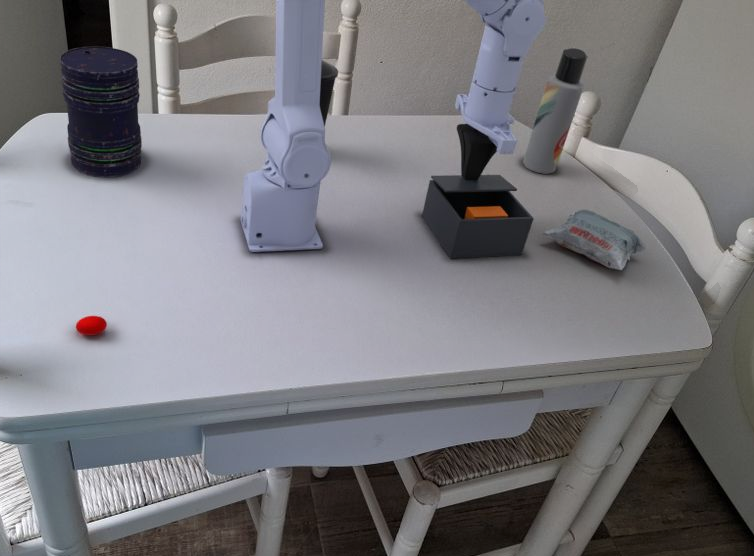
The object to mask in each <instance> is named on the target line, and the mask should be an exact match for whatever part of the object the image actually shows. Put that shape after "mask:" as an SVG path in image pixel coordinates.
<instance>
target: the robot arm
mask: <svg viewBox="0 0 754 556" xmlns="http://www.w3.org/2000/svg"><path fill="white" fill-rule="evenodd" d="M275 1H276V2H275V58H274V59H275V60H274V65H275V67H274V96H273V98H270V100H269V101H268V103H267V113H266V117H265V119H264V121H263V123H262V125H261V128H260V131H259V133H260V135H259V136H260V142H261V144H262V146H263V148H264V149H265V150H266V151H267V157H266V159H265V161H264V164H263V167H262V168H261V169H258V170H255V171H251V172H246V173H244V176H243V183H242V197H241V198H242V200H241V216H240V223H241V227H242V230H243V233H244V237H245V240H246V244H247V247H248V249H249V252H252V253H260V252H261V253H262V252H279V251H280V252H282V251H283V252H284V251H298V250H299V251H303V250H320V249H323V247H324V244H323V242H322V239H321V237H320V235H319V233H318V230H317V228H316V222H317V213H318V206H319V205H318V204H319V198H320V188H321V181H322V180H323V179H325V177H326V176H327V175H328V173H329V171H330V169H331V165H332V157H331V156H332V155H331V152H330V150H329V148H328V146H327V143H326V126H325V127H324V122H323V118H322V114H321V110H320V105H319V103H320V84H321V65H322V60H323V45H324V28H325V27H324V26H325V25H324V24H325V6H326V0H275ZM464 2H465V3H466V4H467V5H469V6H470V7H471V8H472V9H473V10H474V12H476V13H477V14H478V15H479V18H480V20H481V22H482V24H483V23H485V26H484V29H483V33H482V38H481V41H480V47H479V51H478V55H477V58H476V63H475V66H474V72H473V76H472V80H471V83H470V88H469V91H468V94H465V93H464V94H462V93H461V94H460V93H458V94H456V95H457V96H456V100H455V105H454V108H455V109H456V110H457V111H460V113H461V119H462V121H463V122H464V123H459V124H457V125H456V132H457V136H458V139H459V145H460V159H461V160H460V162H461V163H460V167H461V168H460V172H461V173H460V175H462V177H463V178H464V179H465V180H478V179H479V177H480V175H483V172H484V171H485V168H486V166H487V165H488V164H489V162H490V161H491V159H492V158H493V157H494V155H496V153H498V154H499V155H514V152H515V149H516V145H517V143H518V140H517V138H516V137H515V136H514V134H513V130H512V128H511V125H514V124H515V123H514V122H515V120H516V119H515V117H514V116H513V115H511V114H510V112H511V109H512V105H513V103H514V102H513V101H514V98H515V95H516V91H517V87H518V83H519V81H520V76H521V73H522V69H523V66H524V62H525V59H526V56H527V54H528V53H529V52H530V51H531V46H532V44H533V42H534V40H535V39H536V38H537V37H538V36H539V35H540V33H542V31H543V29H544V28H545V26H546V23H547V21H548V19H547V17H546V16H545V7H544V1H543V0H464Z"/></svg>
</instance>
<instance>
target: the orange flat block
mask: <svg viewBox="0 0 754 556" xmlns="http://www.w3.org/2000/svg"><path fill="white" fill-rule="evenodd" d="M486 218H508V215H507V214H506V212H505V211H504V210H503V209H502V208H501V207H500V206H489V207H467V210H466V214H465V218H464V219H486Z"/></svg>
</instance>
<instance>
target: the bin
mask: <svg viewBox="0 0 754 556" xmlns="http://www.w3.org/2000/svg"><path fill="white" fill-rule="evenodd" d="M489 206H500V207H501V208H502V209H503V210H504V211H505V212H506V214H507V215H508V218H486V219H464V218H465V214H466V210H467V207H489ZM421 218H422V219H423V221H424V222H425V224H426V225H427V226H428V228H429V229H430V231H431V232H432V234H433V236H434V237H435V238H436V240H437V241H438V243H439V244H440V246H441V247H442V248H443V250H444V252H445V253H446V255H447V256H448V257H449V259H451V260H452V259H469V258H471V259H472V258H488V257H490V258H491V257H507V256H508V257H509V256H522V255H523V252H524V249H525V246H526V243H527V240H528V238H529V237H528V236H529V234H530V231H531V228H532V224H533V222H534V219H535V218H534V216H533V215H532V214H531V213H530V212H529V211H528V210H527V209H526V208H525V207H524V205H523V204H522V203H520V201H519V200H518V199H517V198H516V197H515V196H514V194H513V193H512V191H493V192H448V193H446V192H445V191H444V190H443V189H442V188H441V187H440V186H439V185H438V184H437V183H436V182H435V181H434V180H433V179H430V180H429V183H428V185H427V191H426V196H425V200H424V204H423V207H422V213H421Z"/></svg>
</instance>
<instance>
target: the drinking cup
mask: <svg viewBox="0 0 754 556" xmlns="http://www.w3.org/2000/svg"><path fill="white" fill-rule="evenodd" d="M338 77H339V70H338V68H337V67H336V66H335V65H333V64H331V63H329V62H327V61H325V60H323V59H322V65H321V84H320V103H319V105H320V110H321V114H322V118H323V122H324V127H325V128H326V123H327V119H328V113H329V108H330V105H331V101H332V95H333V91H334V87H335V83H336V78H338Z"/></svg>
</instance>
